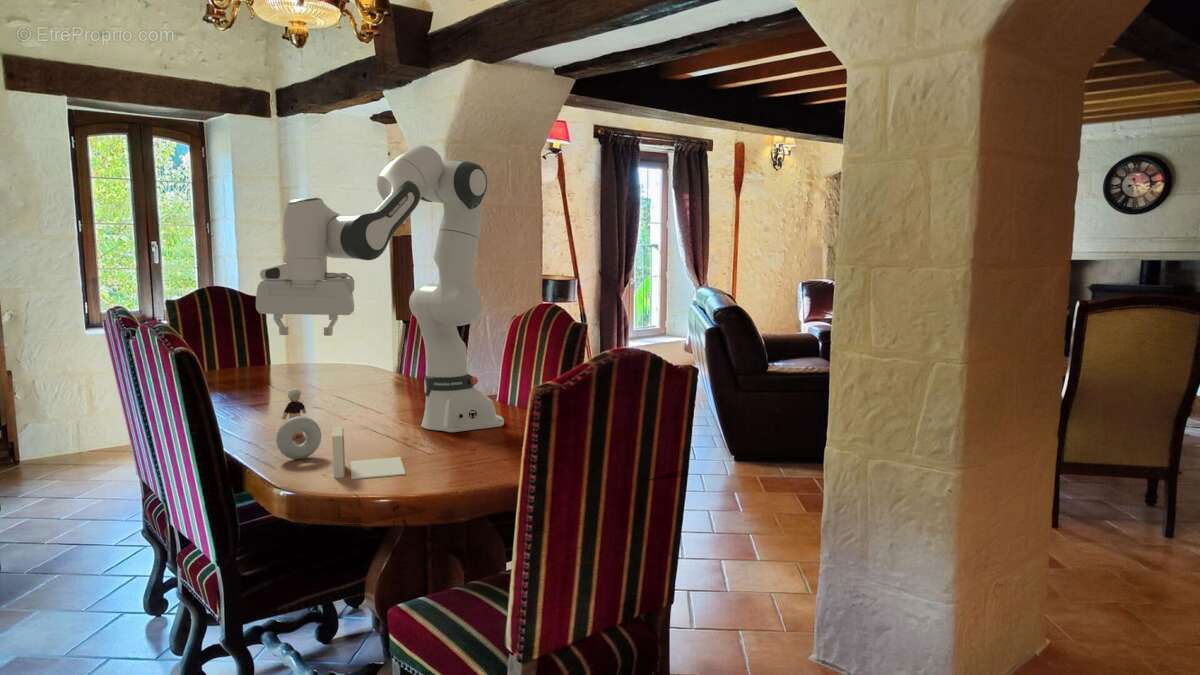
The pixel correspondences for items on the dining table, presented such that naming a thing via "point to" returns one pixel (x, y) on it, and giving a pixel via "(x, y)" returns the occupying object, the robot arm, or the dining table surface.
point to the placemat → (377, 468)
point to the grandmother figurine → (294, 408)
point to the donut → (293, 426)
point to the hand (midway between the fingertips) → (306, 335)
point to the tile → (338, 452)
